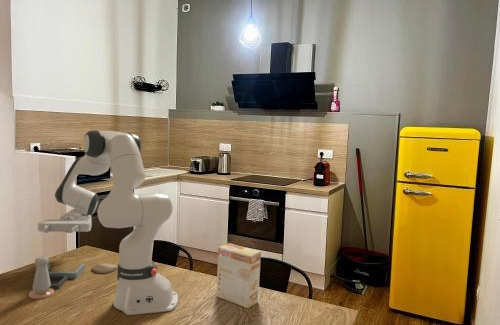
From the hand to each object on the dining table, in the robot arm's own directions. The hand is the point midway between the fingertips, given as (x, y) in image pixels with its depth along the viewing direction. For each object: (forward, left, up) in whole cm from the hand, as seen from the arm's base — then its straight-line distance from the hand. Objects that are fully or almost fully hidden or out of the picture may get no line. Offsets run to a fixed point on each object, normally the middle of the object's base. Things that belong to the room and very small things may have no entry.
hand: (58, 230), depth 147 cm
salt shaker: (0, +15, -19) cm, 24 cm away
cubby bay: (0, -4, -19) cm, 20 cm away
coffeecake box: (-71, +19, -19) cm, 76 cm away
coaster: (0, +15, -19) cm, 24 cm away
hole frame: (0, +6, -19) cm, 20 cm away
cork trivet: (-16, -9, -19) cm, 26 cm away
